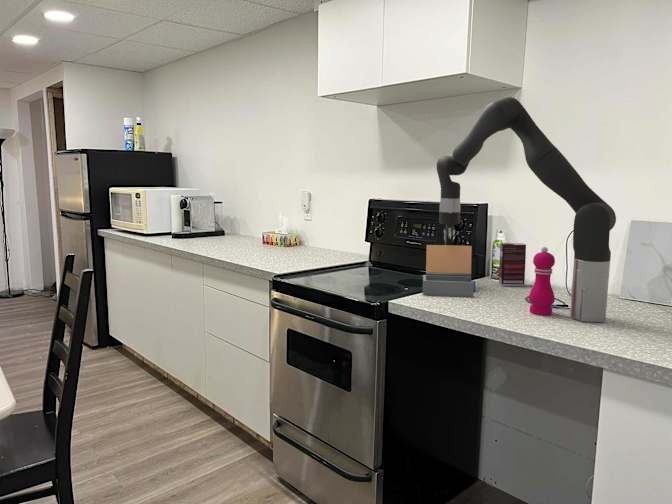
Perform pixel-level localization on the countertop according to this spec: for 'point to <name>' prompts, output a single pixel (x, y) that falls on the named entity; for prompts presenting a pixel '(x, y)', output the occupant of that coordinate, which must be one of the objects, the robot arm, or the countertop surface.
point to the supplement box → (512, 264)
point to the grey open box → (448, 285)
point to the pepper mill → (542, 284)
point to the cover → (448, 260)
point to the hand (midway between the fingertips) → (448, 257)
